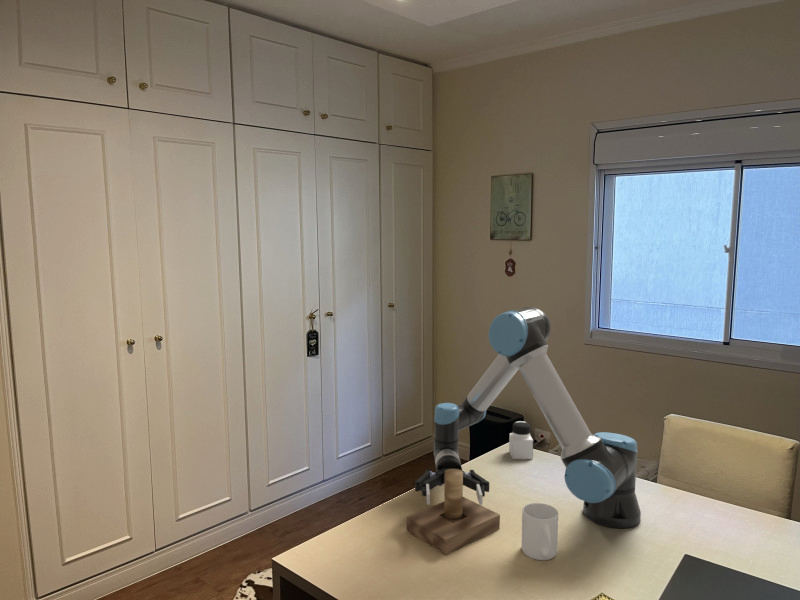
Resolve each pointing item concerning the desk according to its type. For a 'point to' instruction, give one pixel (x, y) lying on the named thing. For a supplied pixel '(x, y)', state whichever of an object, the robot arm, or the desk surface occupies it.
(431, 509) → the seat board
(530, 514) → the mug
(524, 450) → the medicine bottle
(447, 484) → the oak leg
